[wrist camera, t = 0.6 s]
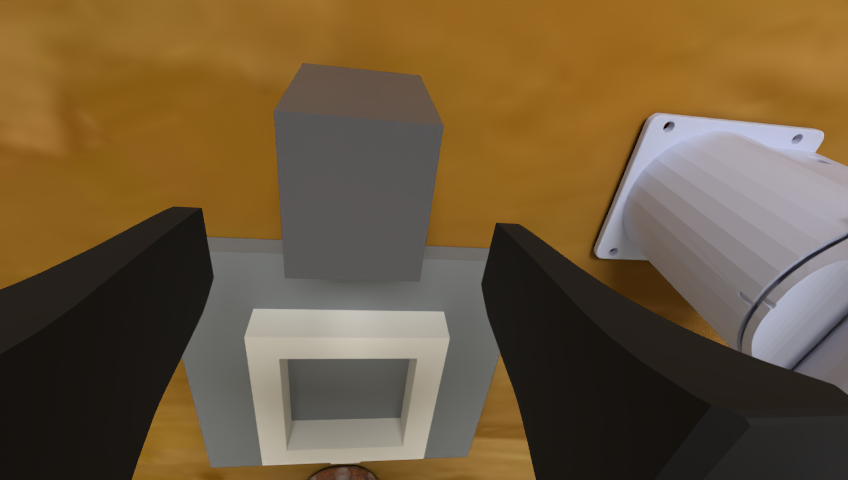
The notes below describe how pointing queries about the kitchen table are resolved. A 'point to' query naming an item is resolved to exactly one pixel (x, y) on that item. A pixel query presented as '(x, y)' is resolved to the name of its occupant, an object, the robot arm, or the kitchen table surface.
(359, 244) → the plug
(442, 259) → the socket
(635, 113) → the kitchen table surface
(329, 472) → the sauce bottle
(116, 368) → the robot arm
